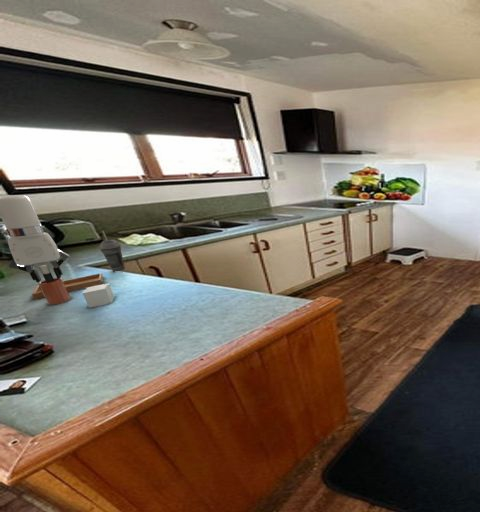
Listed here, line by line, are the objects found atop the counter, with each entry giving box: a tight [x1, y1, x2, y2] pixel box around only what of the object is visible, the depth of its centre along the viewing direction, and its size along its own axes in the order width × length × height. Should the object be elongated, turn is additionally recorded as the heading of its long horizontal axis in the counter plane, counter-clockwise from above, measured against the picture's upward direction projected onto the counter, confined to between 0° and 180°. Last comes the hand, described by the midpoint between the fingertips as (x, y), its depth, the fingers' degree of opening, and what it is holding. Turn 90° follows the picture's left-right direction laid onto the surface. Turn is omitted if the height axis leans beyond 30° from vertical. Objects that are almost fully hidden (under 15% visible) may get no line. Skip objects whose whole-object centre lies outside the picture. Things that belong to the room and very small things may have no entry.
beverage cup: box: [99, 230, 126, 273], centre depth 131 cm, size 7×7×20 cm
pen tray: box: [31, 272, 104, 300], centre depth 115 cm, size 19×10×2 cm, turn 134°
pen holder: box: [37, 277, 72, 305], centre depth 102 cm, size 6×6×8 cm
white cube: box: [82, 282, 115, 309], centre depth 101 cm, size 6×6×6 cm
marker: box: [38, 264, 55, 283], centre depth 101 cm, size 2×2×14 cm
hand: (49, 278), depth 101 cm, fingers open, 4 cm apart
